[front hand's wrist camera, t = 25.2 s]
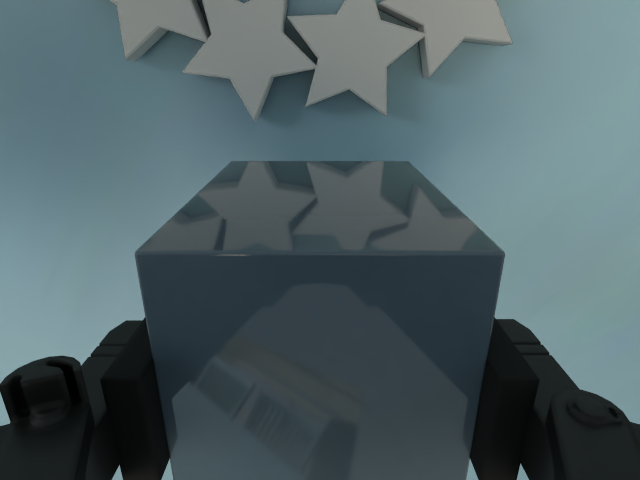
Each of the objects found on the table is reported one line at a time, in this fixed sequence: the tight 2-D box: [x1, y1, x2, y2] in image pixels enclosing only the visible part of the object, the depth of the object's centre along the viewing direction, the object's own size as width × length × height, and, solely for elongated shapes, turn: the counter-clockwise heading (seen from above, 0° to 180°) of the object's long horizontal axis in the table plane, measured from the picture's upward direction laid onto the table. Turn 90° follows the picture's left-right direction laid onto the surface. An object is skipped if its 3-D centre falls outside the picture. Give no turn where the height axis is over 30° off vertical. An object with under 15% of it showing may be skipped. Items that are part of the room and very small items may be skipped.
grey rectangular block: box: [135, 161, 505, 480], centre depth 13 cm, size 7×7×9 cm
